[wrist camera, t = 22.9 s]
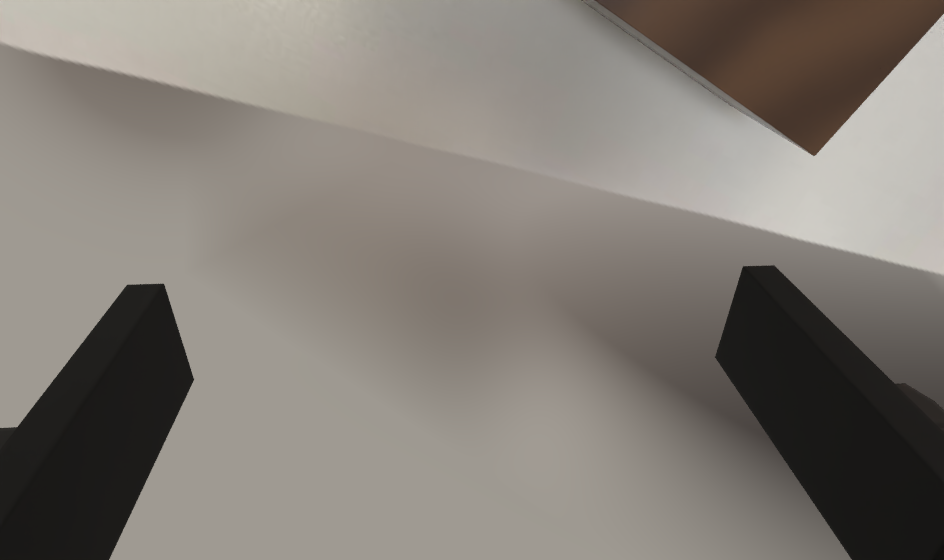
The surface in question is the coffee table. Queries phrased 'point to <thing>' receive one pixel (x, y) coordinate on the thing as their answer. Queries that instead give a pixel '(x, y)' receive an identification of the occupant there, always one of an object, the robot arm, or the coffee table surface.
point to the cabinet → (781, 52)
